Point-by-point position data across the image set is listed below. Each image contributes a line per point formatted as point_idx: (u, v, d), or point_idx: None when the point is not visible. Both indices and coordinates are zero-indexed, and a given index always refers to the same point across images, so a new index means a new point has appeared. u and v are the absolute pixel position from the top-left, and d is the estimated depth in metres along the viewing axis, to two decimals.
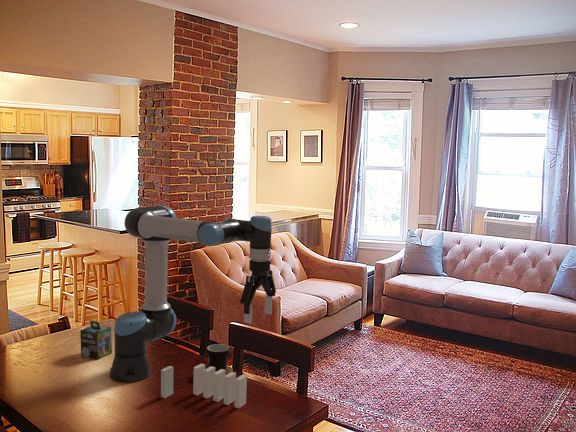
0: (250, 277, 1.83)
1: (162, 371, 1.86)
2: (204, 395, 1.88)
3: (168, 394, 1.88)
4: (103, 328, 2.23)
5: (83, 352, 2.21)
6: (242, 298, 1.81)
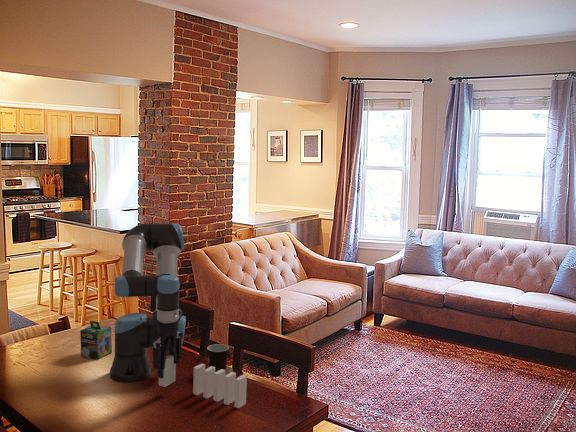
0: (155, 344, 1.81)
1: None
2: (204, 395, 1.88)
3: (168, 383, 1.88)
4: (103, 328, 2.23)
5: (83, 352, 2.21)
6: (154, 364, 1.83)
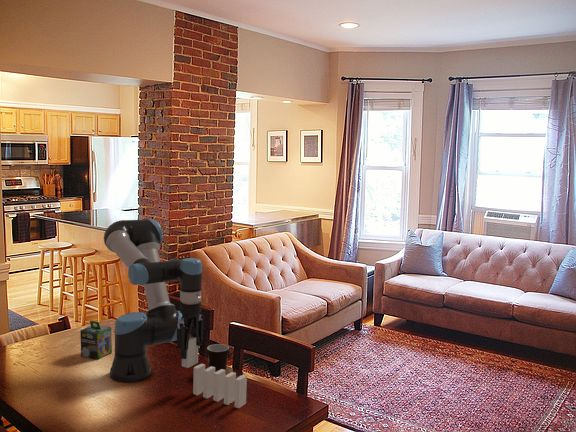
0: (179, 325, 1.85)
1: None
2: (204, 395, 1.88)
3: (191, 364, 1.92)
4: (103, 328, 2.23)
5: (83, 352, 2.21)
6: (178, 344, 1.87)
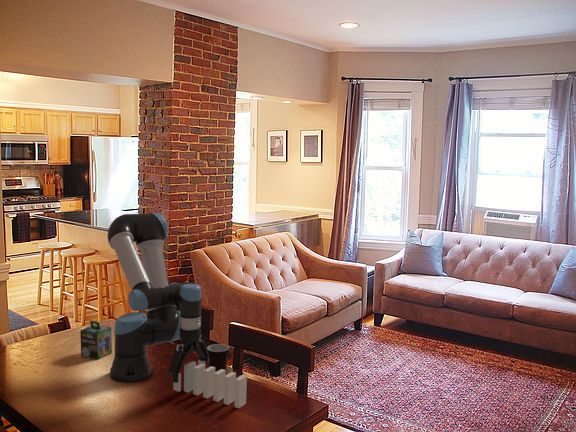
0: (178, 346, 1.86)
1: (185, 366, 1.91)
2: (204, 395, 1.88)
3: (191, 388, 1.93)
4: (103, 328, 2.23)
5: (83, 352, 2.21)
6: (170, 367, 1.85)
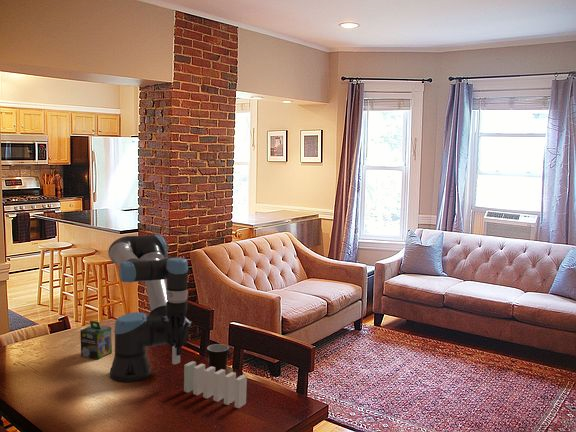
0: None
1: (185, 366, 1.91)
2: (204, 395, 1.88)
3: (191, 388, 1.93)
4: (103, 328, 2.23)
5: (83, 352, 2.21)
6: None
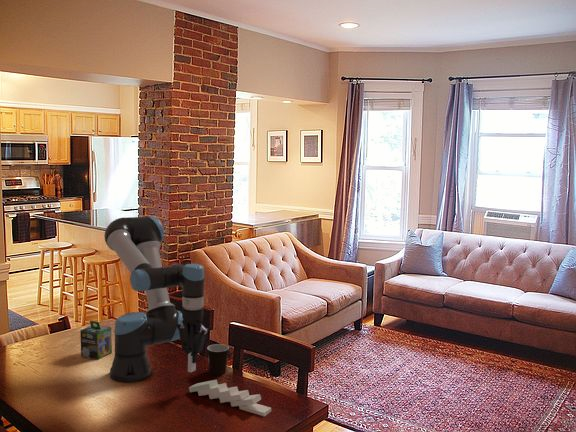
0: None
1: (208, 385, 1.86)
2: (210, 395, 1.86)
3: None
4: (103, 328, 2.23)
5: (83, 352, 2.21)
6: None
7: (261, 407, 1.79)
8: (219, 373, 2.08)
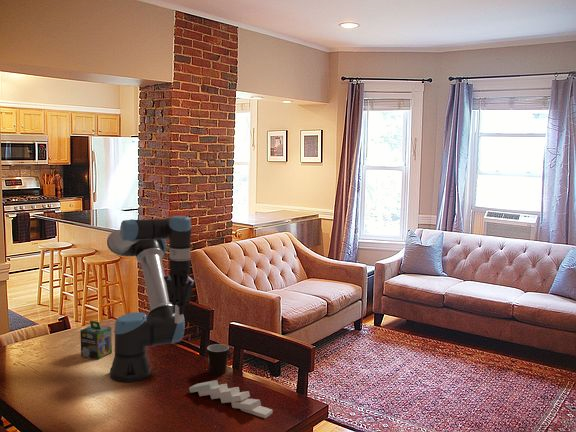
0: None
1: (208, 386, 1.86)
2: (212, 395, 1.86)
3: None
4: (103, 328, 2.23)
5: (83, 352, 2.21)
6: None
7: (262, 409, 1.78)
8: (219, 373, 2.08)
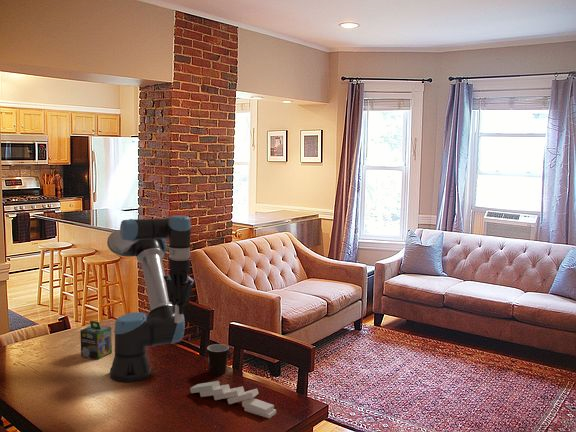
0: None
1: (210, 387, 1.86)
2: (215, 396, 1.86)
3: None
4: (103, 328, 2.23)
5: (83, 352, 2.21)
6: None
7: None
8: (219, 373, 2.08)
